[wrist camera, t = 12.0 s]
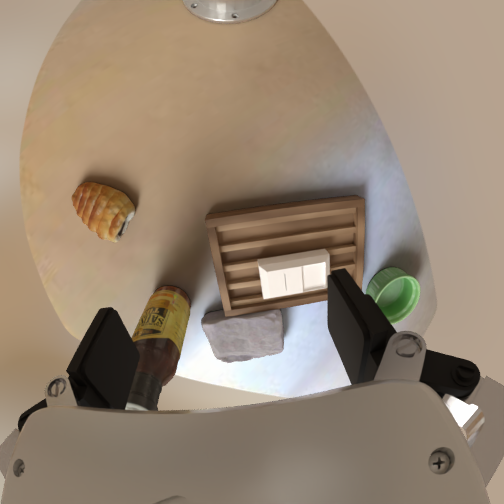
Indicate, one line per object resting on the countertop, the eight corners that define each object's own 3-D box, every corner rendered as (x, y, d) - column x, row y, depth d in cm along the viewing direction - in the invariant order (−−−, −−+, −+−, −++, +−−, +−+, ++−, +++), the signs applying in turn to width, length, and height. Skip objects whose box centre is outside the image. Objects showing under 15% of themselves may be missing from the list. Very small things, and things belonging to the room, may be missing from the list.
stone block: (284, 334, 45) (278, 293, 39) (289, 356, 41) (283, 318, 35) (217, 345, 45) (199, 307, 40) (217, 368, 41) (197, 332, 36)
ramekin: (370, 319, 43) (380, 334, 39) (355, 282, 40) (366, 297, 36) (411, 292, 42) (423, 305, 38) (400, 253, 38) (415, 265, 34)
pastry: (72, 210, 32) (58, 217, 29) (88, 168, 30) (74, 171, 27) (122, 242, 35) (112, 253, 31) (142, 201, 33) (132, 207, 29)
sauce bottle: (173, 275, 37) (135, 386, 19) (200, 306, 39) (185, 422, 21) (141, 296, 38) (95, 401, 20) (168, 325, 40) (141, 433, 22)
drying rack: (206, 214, 34) (204, 220, 32) (356, 195, 34) (364, 199, 32) (225, 306, 39) (225, 316, 37) (355, 284, 40) (361, 293, 37)
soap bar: (257, 259, 35) (259, 268, 32) (325, 248, 35) (331, 256, 33) (262, 292, 37) (264, 302, 34) (325, 281, 37) (331, 290, 34)
